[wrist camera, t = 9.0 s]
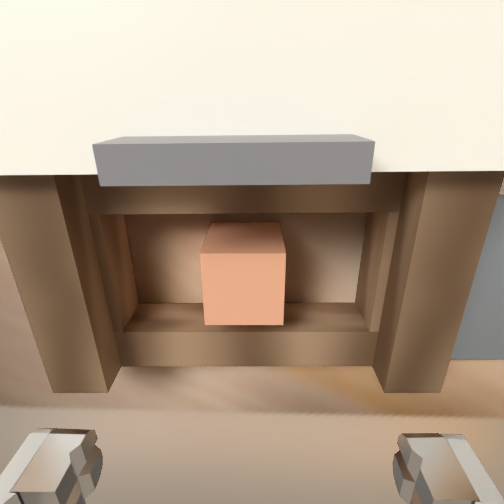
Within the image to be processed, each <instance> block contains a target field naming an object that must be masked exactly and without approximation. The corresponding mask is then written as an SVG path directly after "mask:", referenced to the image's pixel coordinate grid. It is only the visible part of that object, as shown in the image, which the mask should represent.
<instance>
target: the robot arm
mask: <svg viewBox="0 0 504 504" xmlns="http://www.w3.org/2000/svg"><path fill="white" fill-rule="evenodd" d="M96 441H97V435H96V433H95V430H81V429H57V428H36V429H35V430H34V431H32V432H31V433H30V434H29V435H28V437H27V438H26V439H25V441H24V442H23V444H22V445H21V447H20V448H19V449H18V451H17V452H16V454H15V455H14V456H13V458H12V459H11V461H10V462H9V463H8V465H7V466H6V468H5V469H4V470H3V472H2V473H1V475H0V504H86V503H85V498H86V497H87V496H88V495H89V494H90V493H91V492H93V491H94V490H95V488H96V485H97V483H98V481H99V478H100V474H101V469H102V465H103V464H102V463H103V462H102V459H103V458H102V457H103V456H102V452H101V450H100V449H99V448H98V447H97V446H96V445H95V443H96ZM397 444H398V446H399V449H400V450H399V451H398V452H397V453H396V454H395V455H394V460H393V473H394V479H395V483H396V486H397V489H398V492H399V495H400V496H401V497H402V498H403V499H404V500H405V501H406V502H407V503H408V504H504V499H503V498H502V496H501V494H500V493H499V491H498V489H497V488H496V487H495V485H494V483H493V482H492V480H491V478H490V477H489V475H488V473H487V472H486V470H485V469H484V467H483V465H482V464H481V462H480V461H479V459H478V457H477V456H476V454H475V453H474V451H473V449H472V448H471V446H470V445H469V443H468V441H467V440H466V438H465V437H463V436H462V435H461V434H438V433H436V434H434V433H431V434H429V433H426V434H425V433H424V434H423V433H421V434H401V435H400V436H399V438H398V442H397Z"/></svg>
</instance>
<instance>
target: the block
mask: <svg viewBox="0 0 504 504" xmlns="http://www.w3.org/2000/svg"><path fill="white" fill-rule="evenodd" d="M199 254H200V267H201V280H202V294H203V307H204V320H205V325H283V319H284V294H285V269H286V250H285V246H284V241H283V236H282V231H281V226H280V222H211V224H210V227H209V229H208V232H207V235H206V237H205V240H204V243H203V245H202V248H201V251H200V253H199Z"/></svg>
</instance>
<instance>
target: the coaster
mask: <svg viewBox="0 0 504 504" xmlns="http://www.w3.org/2000/svg"><path fill="white" fill-rule="evenodd" d="M450 360H504V195H498V198H497V202H496V205H495V208H494V212H493V215H492V219H491V222H490V225H489V229H488V232H487V236H486V239H485V242H484V246H483V249H482V253H481V256H480V259H479V263H478V266H477V270H476V273H475V276H474V280H473V283H472V287H471V290H470V293H469V297H468V300H467V304H466V307H465V310H464V314H463V317H462V321H461V324H460V327H459V331H458V334H457V338H456V341H455V344H454V348H453V351H452V355H451V358H450Z"/></svg>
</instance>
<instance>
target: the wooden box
mask: <svg viewBox="0 0 504 504" xmlns="http://www.w3.org/2000/svg"><path fill="white" fill-rule="evenodd" d="M503 178H504V171H419V172H371V178H370V184H315V185H198V186H100V183H99V178H98V174H85V175H0V238H1V241H2V244H3V247H4V249H5V252H6V255H7V258H8V261H9V264H10V267H11V270H12V273H13V276H14V279H15V282H16V285H17V288H18V291H19V294H20V297H21V300H22V302H23V305H24V308H25V311H26V314H27V317H28V320H29V323H30V326H31V329H32V332H33V335H34V338H35V341H36V344H37V347H38V350H39V352H40V355H41V358H42V361H43V364H44V367H45V370H46V373H47V376H48V379H49V382H50V385H51V388H52V391H53V393H108V391H109V389H110V388H111V386H112V384H113V382H114V380H115V378H116V376H117V374H118V372H119V370H120V368H121V366H373V368H374V371H375V373H376V375H377V377H378V380H379V382H380V384H381V386H382V389H383V391H384V393H440V392H441V389H442V385H443V382H444V379H445V375H446V372H447V368H448V365H449V361H450V358H451V355H452V351H453V348H454V344H455V341H456V338H457V334H458V331H459V327H460V324H461V321H462V317H463V314H464V310H465V307H466V304H467V300H468V297H469V293H470V290H471V287H472V283H473V280H474V276H475V273H476V270H477V266H478V263H479V259H480V256H481V253H482V249H483V246H484V242H485V239H486V236H487V232H488V229H489V225H490V222H491V219H492V215H493V212H494V208H495V205H496V202H497V198H498V195H499V191H500V188H501V185H502V181H503ZM360 212H367V218H366V225H365V233H364V240H363V248H362V255H361V263H360V270H359V277H358V285H357V292H356V300H355V303H284V319H283V325H205V320H204V307H203V303H152V304H139V299H138V293H137V288H136V282H135V276H134V270H133V265H132V259H131V253H130V247H129V241H128V236H127V230H126V224H125V218H124V214H226V213H360Z"/></svg>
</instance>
